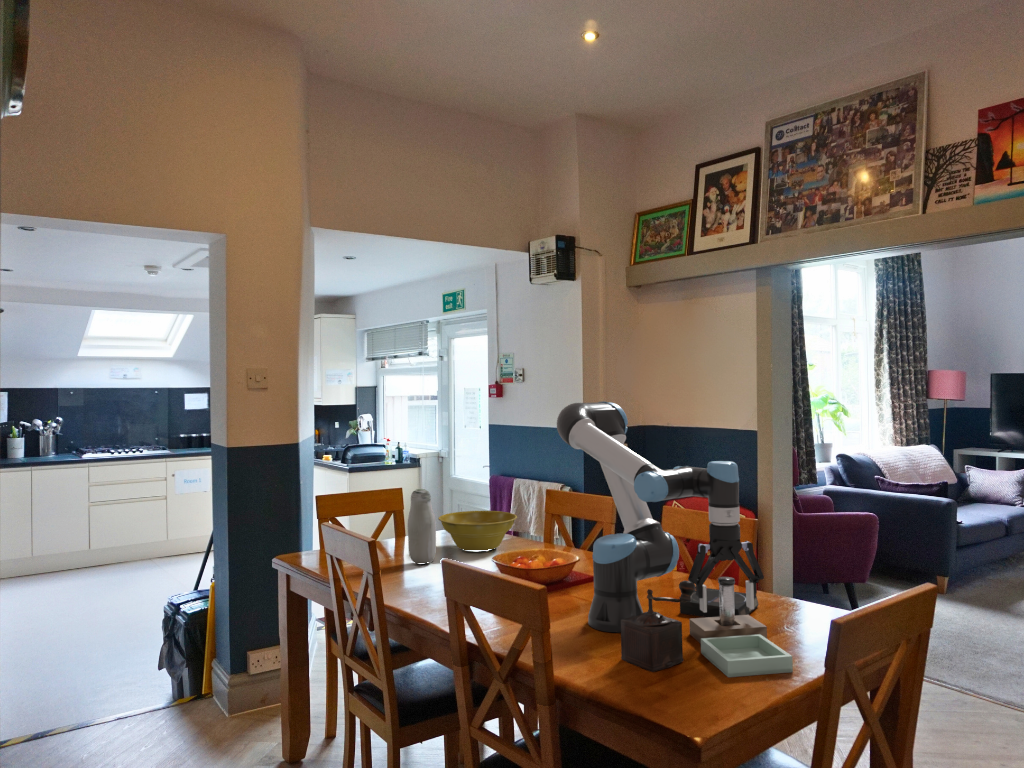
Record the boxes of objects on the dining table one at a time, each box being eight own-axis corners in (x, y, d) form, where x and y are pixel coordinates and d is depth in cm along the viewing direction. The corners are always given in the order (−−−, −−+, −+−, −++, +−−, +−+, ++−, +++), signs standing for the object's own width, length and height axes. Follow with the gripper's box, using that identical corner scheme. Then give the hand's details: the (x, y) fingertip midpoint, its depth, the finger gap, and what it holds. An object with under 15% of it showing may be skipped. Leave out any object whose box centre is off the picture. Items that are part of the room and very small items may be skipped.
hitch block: (705, 647, 177) (704, 631, 177) (689, 634, 187) (689, 618, 187) (767, 642, 179) (766, 626, 179) (748, 630, 189) (748, 614, 189)
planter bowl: (532, 545, 302) (531, 513, 302) (489, 561, 275) (488, 525, 275) (469, 538, 319) (468, 508, 319) (422, 553, 292) (421, 519, 292)
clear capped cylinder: (723, 641, 181) (722, 581, 181) (716, 636, 185) (715, 577, 185) (738, 640, 181) (737, 580, 181) (731, 635, 185) (730, 576, 185)
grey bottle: (441, 562, 275) (439, 488, 275) (424, 568, 266) (422, 491, 266) (421, 559, 280) (419, 487, 280) (403, 565, 271) (401, 490, 272)
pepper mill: (654, 673, 161) (652, 592, 162) (620, 659, 170) (618, 582, 171) (701, 658, 170) (699, 581, 170) (666, 645, 179) (664, 572, 179)
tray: (728, 677, 158) (727, 661, 158) (701, 653, 173) (700, 638, 173) (792, 672, 160) (792, 656, 160) (760, 648, 175) (760, 634, 175)
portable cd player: (740, 624, 195) (740, 609, 195) (680, 614, 205) (679, 600, 205) (758, 608, 209) (758, 594, 209) (701, 600, 218) (700, 587, 218)
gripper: (684, 527, 178) (686, 616, 178) (776, 523, 181) (779, 610, 181) (673, 522, 185) (675, 608, 185) (762, 518, 189) (764, 602, 188)
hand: (726, 609), depth 183 cm, fingers open, 12 cm apart
